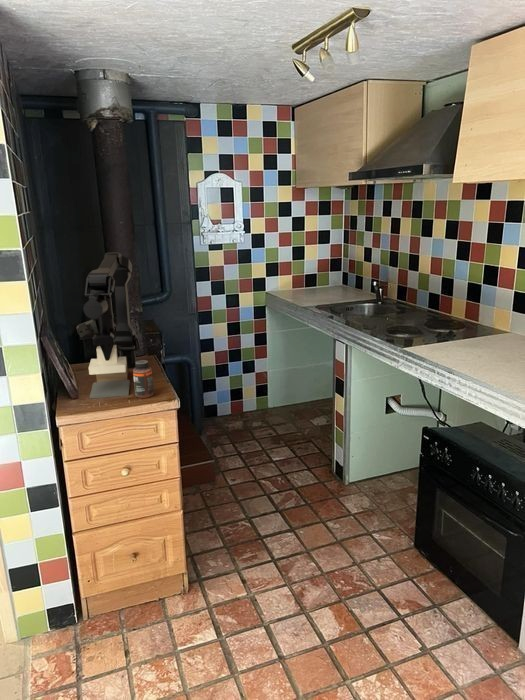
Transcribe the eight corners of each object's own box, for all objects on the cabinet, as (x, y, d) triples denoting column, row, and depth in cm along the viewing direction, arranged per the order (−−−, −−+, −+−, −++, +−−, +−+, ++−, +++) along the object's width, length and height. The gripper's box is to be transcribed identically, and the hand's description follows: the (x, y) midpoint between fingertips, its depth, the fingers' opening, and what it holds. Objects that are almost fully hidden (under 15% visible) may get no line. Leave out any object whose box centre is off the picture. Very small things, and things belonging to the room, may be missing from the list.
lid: (92, 366, 180) (89, 344, 178) (126, 363, 182) (124, 342, 180) (89, 374, 171) (86, 352, 169) (125, 372, 173) (123, 349, 171)
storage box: (98, 375, 193) (97, 362, 191) (127, 373, 195) (126, 360, 193) (96, 382, 185) (95, 369, 184) (126, 380, 187) (125, 366, 186)
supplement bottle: (155, 391, 176) (152, 358, 173) (152, 398, 170) (149, 364, 167) (136, 392, 176) (134, 359, 173) (133, 399, 170) (130, 364, 167)
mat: (93, 384, 184) (93, 382, 184) (129, 381, 186) (129, 379, 186) (89, 398, 171) (89, 396, 171) (128, 395, 173) (128, 393, 173)
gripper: (80, 307, 179) (84, 352, 183) (72, 319, 161) (78, 369, 165) (114, 305, 181) (118, 350, 185) (111, 317, 163) (115, 366, 168)
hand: (107, 358), depth 176 cm, fingers closed on lid, 3 cm apart
